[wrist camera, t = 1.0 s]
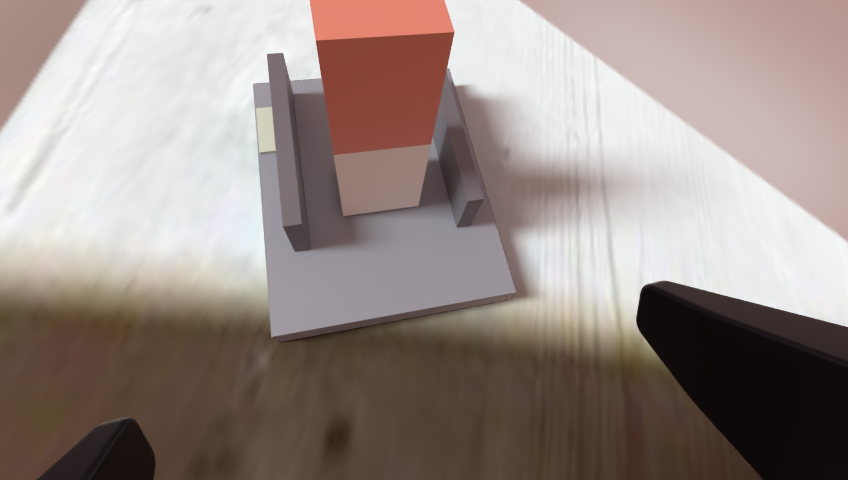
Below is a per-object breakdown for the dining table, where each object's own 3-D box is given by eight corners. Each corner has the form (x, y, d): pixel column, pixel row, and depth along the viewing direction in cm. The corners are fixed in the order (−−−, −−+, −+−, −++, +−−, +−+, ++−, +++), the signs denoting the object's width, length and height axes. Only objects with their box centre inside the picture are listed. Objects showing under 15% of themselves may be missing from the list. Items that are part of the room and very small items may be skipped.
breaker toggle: (418, 206, 22) (454, 32, 12) (343, 216, 22) (315, 40, 12) (407, 158, 23) (432, -37, 13) (335, 167, 23) (305, -32, 13)
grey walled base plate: (507, 300, 23) (537, 273, 18) (278, 342, 20) (254, 322, 16) (445, 85, 28) (457, 28, 24) (259, 101, 26) (237, 41, 22)
